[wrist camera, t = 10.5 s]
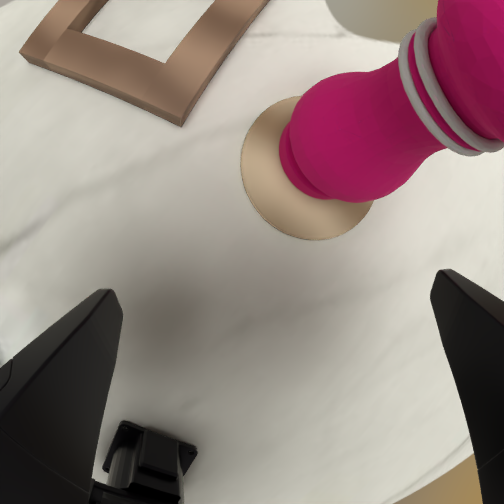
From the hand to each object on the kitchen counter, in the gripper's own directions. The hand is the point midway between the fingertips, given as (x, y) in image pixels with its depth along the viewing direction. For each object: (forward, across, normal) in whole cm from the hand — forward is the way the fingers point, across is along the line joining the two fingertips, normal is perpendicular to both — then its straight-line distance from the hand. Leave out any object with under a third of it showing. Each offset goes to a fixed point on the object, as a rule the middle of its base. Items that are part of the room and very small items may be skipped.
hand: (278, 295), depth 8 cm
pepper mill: (+15, -4, +1) cm, 15 cm away
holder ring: (+18, +8, -11) cm, 22 cm away
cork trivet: (+15, -3, +2) cm, 15 cm away
